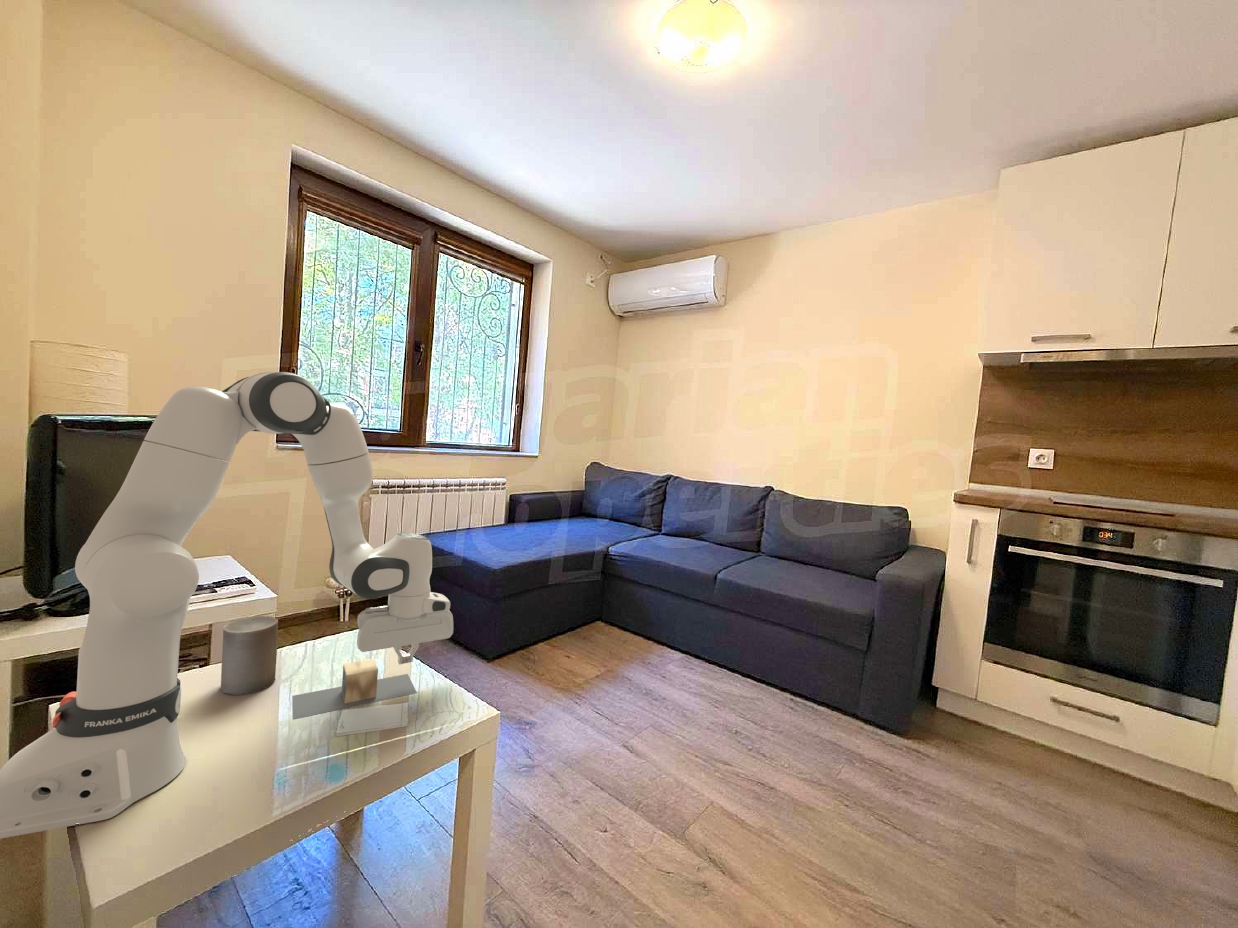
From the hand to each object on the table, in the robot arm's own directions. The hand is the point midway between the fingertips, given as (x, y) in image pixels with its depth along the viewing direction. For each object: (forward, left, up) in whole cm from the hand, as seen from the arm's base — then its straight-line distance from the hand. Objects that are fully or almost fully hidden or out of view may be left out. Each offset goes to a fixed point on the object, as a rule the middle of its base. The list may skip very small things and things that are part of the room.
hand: (405, 662), depth 109 cm
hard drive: (-8, -12, -6) cm, 16 cm away
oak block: (-6, 0, -2) cm, 7 cm away
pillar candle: (-29, +15, -6) cm, 33 cm away
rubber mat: (-10, 0, -6) cm, 11 cm away
